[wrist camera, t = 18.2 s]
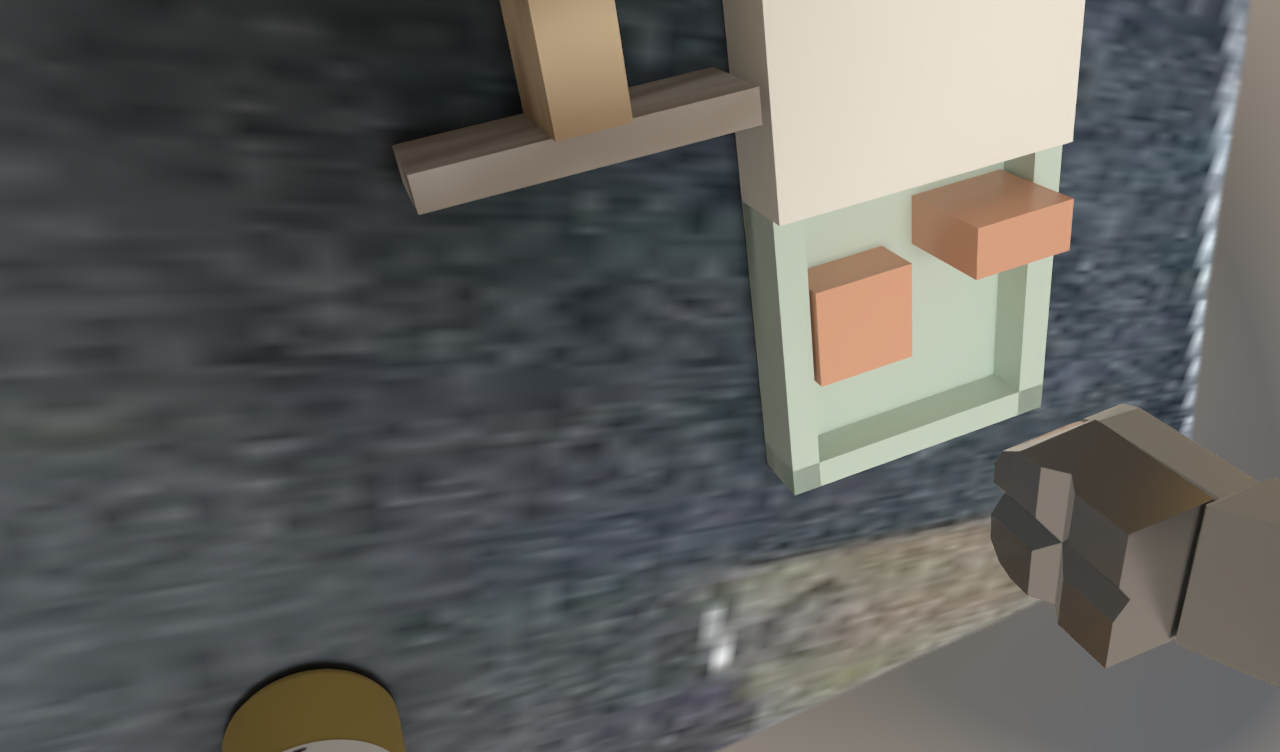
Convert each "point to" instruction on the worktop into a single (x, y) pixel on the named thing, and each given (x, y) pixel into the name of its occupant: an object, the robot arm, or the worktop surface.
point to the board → (895, 93)
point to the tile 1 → (860, 314)
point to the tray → (941, 339)
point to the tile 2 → (991, 223)
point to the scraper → (571, 110)
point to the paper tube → (317, 716)
